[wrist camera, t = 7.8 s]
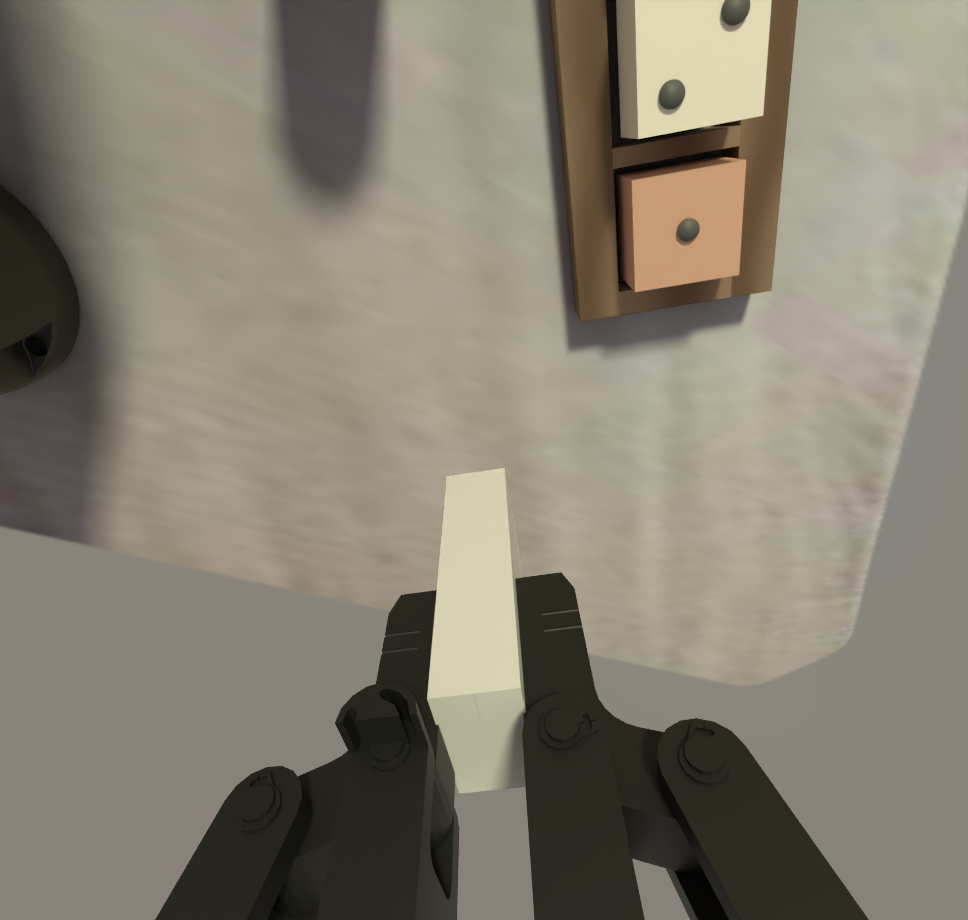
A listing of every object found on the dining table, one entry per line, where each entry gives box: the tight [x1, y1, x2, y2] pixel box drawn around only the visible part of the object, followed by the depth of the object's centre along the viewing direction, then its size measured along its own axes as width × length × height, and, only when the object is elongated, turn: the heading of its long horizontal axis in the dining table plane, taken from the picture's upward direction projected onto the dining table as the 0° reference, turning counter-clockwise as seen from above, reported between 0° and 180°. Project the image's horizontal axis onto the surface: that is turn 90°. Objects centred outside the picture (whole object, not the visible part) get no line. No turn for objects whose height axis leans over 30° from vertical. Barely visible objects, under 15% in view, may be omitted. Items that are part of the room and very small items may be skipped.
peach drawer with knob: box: [616, 156, 746, 292], centre depth 33 cm, size 6×6×4 cm
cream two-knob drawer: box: [616, 0, 772, 139], centre depth 28 cm, size 6×6×4 cm
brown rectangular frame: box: [549, 0, 798, 322], centre depth 31 cm, size 12×26×2 cm, turn 9°
